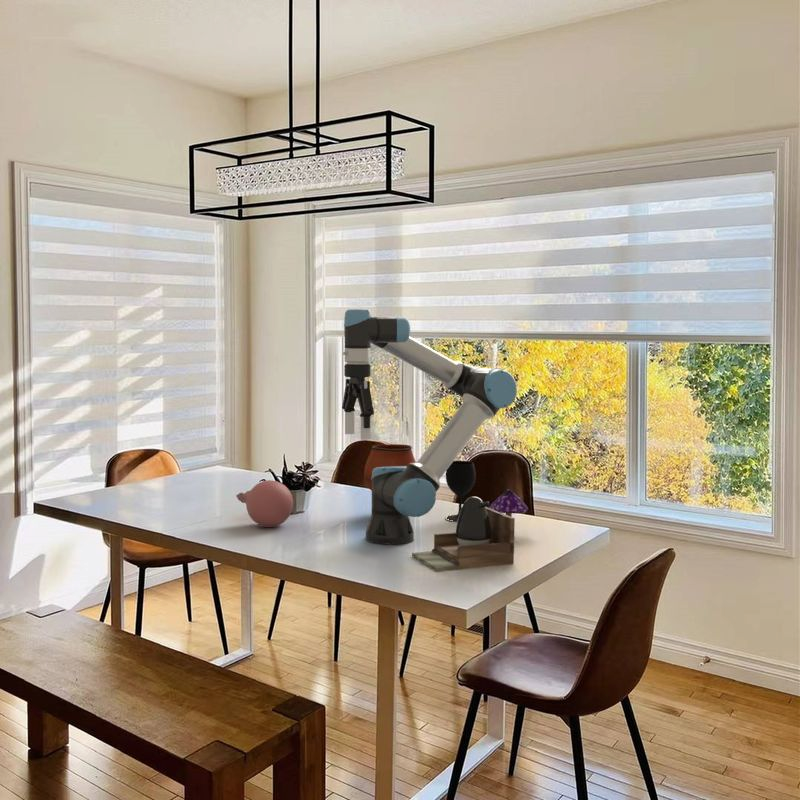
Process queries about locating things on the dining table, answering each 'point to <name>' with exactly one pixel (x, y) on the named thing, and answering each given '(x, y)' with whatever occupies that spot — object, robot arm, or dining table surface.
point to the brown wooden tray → (473, 547)
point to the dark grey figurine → (473, 523)
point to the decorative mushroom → (509, 504)
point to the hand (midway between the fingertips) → (357, 436)
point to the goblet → (387, 458)
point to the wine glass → (460, 481)
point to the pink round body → (268, 503)
